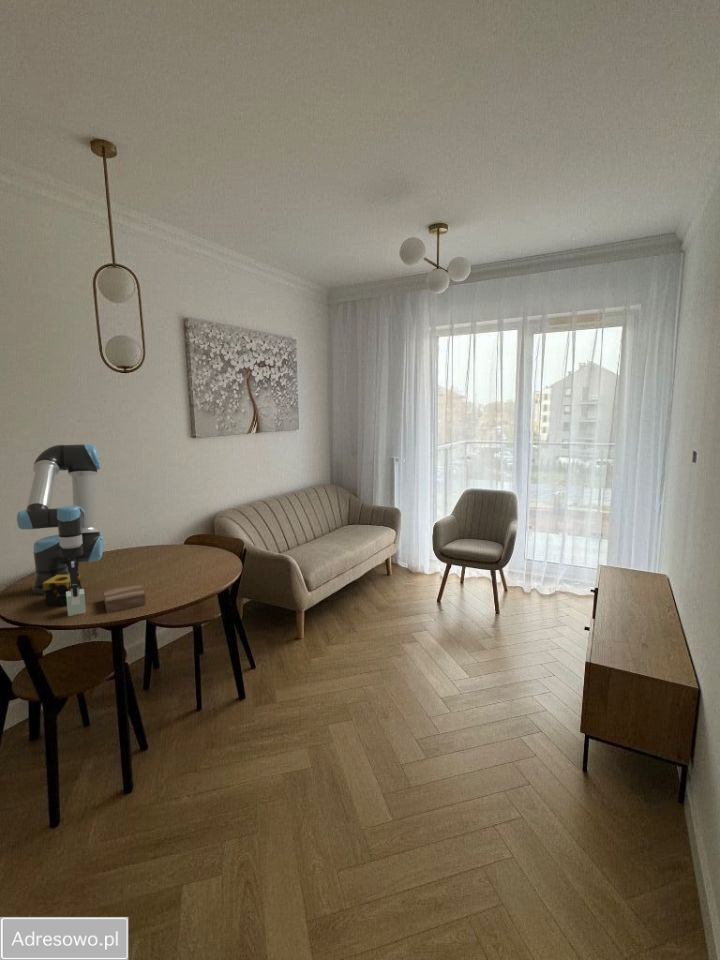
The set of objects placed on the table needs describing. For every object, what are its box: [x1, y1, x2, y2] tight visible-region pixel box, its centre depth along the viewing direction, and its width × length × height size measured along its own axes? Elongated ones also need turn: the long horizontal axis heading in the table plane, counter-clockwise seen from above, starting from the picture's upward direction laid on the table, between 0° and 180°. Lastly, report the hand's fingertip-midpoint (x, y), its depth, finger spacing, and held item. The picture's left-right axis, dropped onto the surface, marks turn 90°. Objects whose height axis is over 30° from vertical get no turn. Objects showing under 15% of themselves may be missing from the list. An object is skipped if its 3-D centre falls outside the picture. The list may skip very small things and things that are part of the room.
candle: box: [43, 573, 83, 606], centre depth 192 cm, size 10×10×10 cm
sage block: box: [66, 588, 87, 617], centre depth 182 cm, size 6×6×8 cm
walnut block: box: [102, 583, 146, 613], centre depth 192 cm, size 14×14×5 cm
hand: (75, 598), depth 181 cm, fingers open, 13 cm apart
